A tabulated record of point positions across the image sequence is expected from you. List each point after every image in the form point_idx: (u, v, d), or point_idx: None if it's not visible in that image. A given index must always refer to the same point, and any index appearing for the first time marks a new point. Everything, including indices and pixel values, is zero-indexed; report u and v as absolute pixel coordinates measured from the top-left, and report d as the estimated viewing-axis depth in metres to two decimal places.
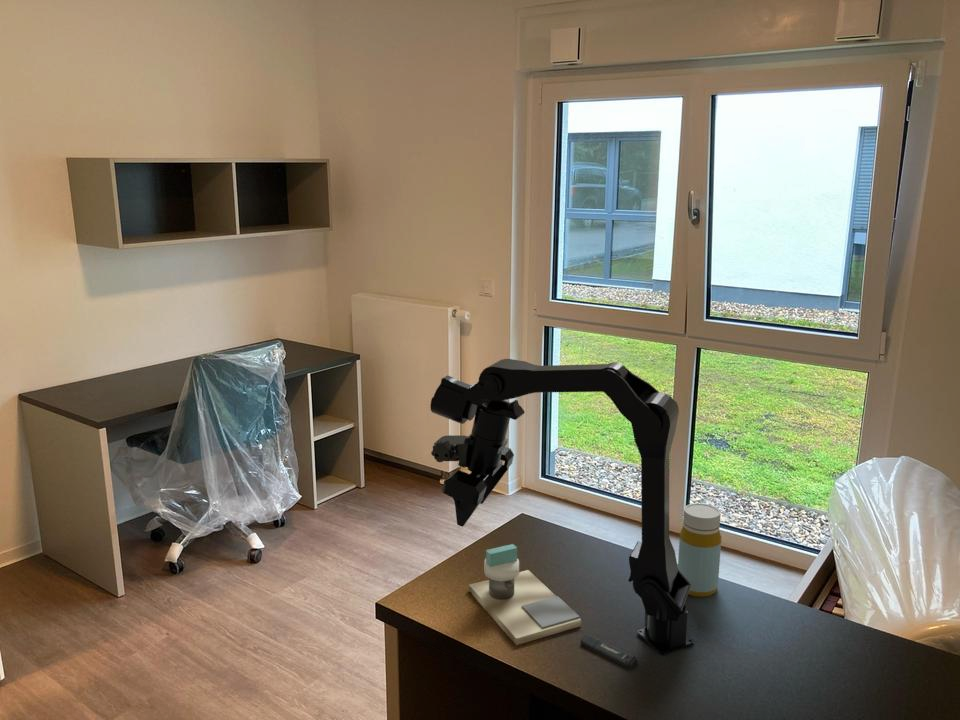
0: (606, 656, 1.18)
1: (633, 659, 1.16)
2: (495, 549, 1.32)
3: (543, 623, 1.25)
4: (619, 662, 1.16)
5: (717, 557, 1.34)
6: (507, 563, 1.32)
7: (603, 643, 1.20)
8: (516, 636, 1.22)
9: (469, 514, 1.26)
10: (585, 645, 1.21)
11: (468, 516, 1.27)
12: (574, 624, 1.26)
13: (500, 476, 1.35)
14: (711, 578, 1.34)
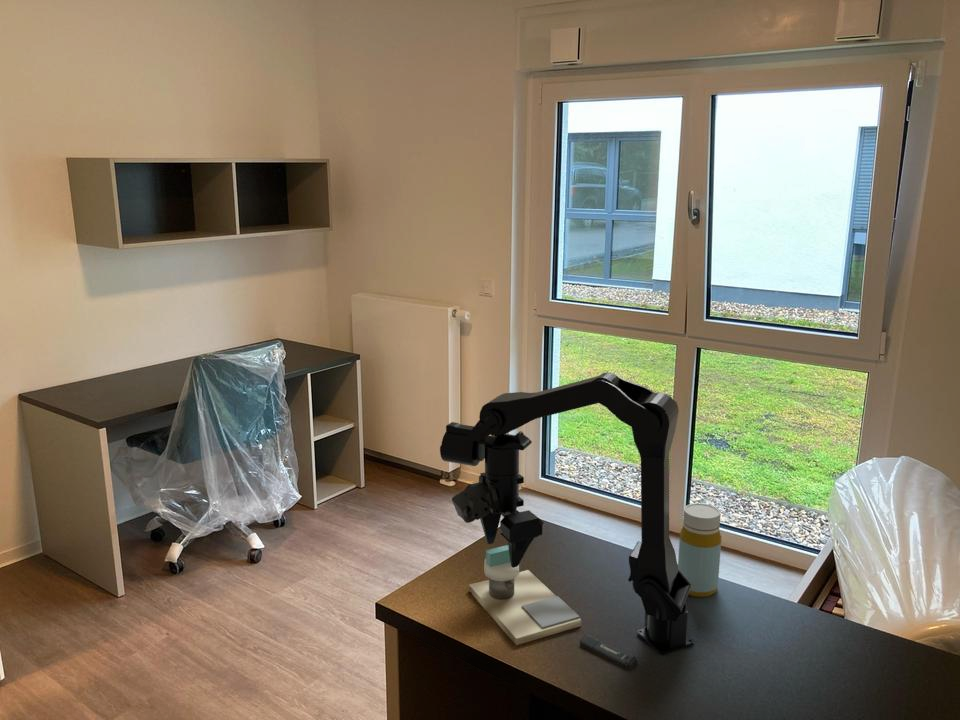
0: (606, 656, 1.18)
1: (633, 659, 1.16)
2: (495, 549, 1.32)
3: (543, 623, 1.25)
4: (619, 662, 1.16)
5: (717, 557, 1.34)
6: (507, 563, 1.32)
7: (602, 643, 1.20)
8: (516, 636, 1.22)
9: (525, 549, 1.27)
10: (584, 646, 1.21)
11: (524, 552, 1.27)
12: (574, 624, 1.26)
13: None
14: (711, 578, 1.34)
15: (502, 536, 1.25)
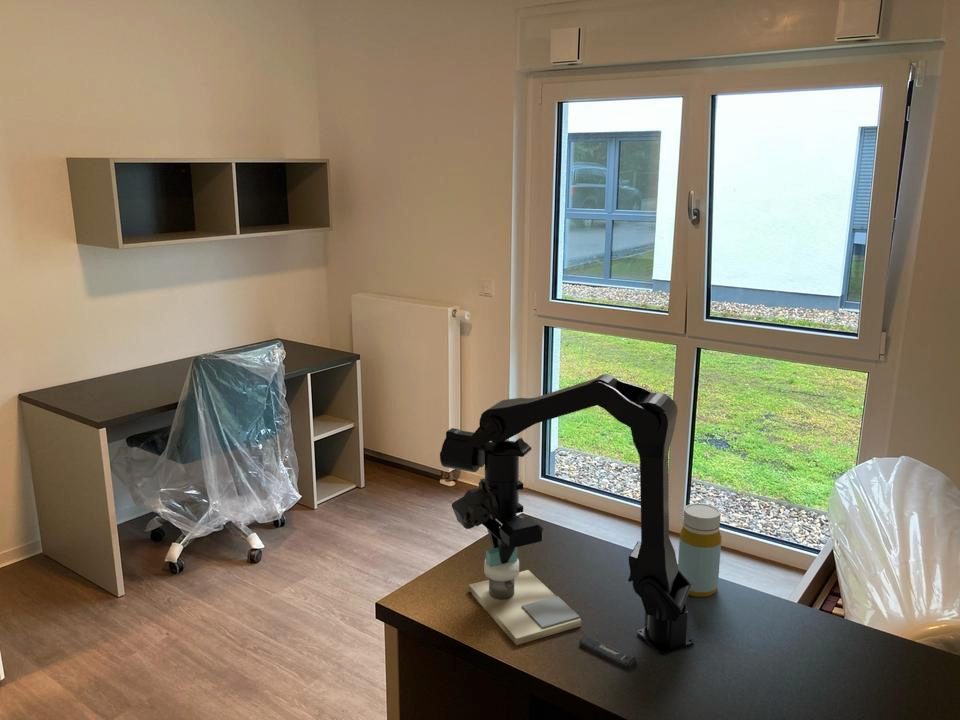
0: (605, 657, 1.18)
1: (632, 660, 1.16)
2: (495, 549, 1.32)
3: (543, 623, 1.25)
4: (618, 663, 1.16)
5: (717, 557, 1.34)
6: (507, 563, 1.32)
7: (602, 644, 1.20)
8: (516, 636, 1.22)
9: (514, 546, 1.31)
10: (584, 646, 1.20)
11: (513, 549, 1.31)
12: (574, 624, 1.26)
13: None
14: (711, 578, 1.34)
15: (492, 533, 1.28)
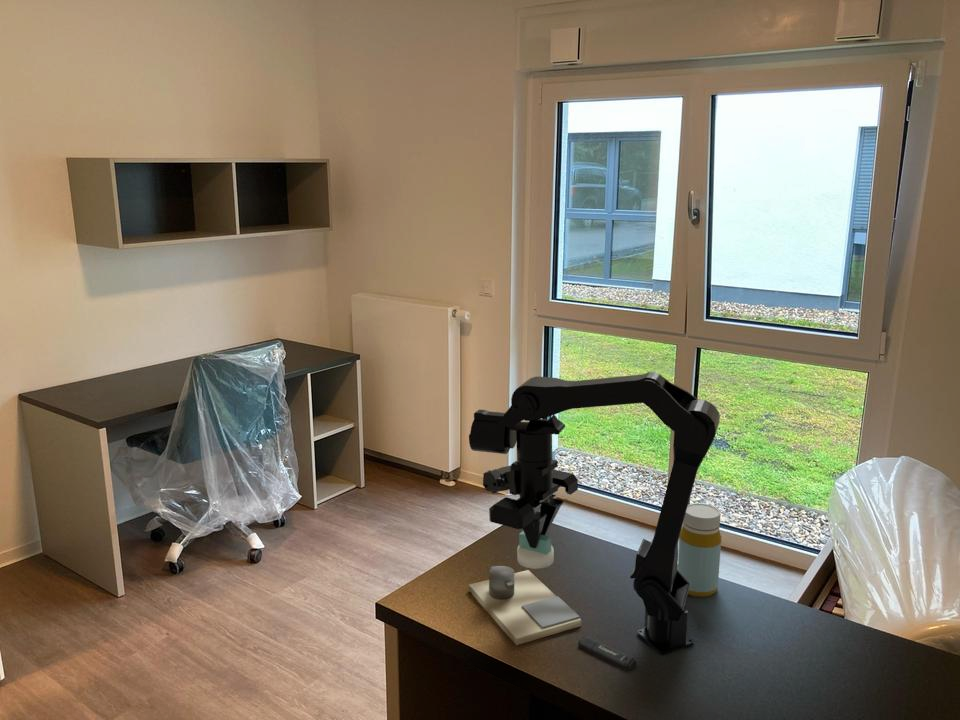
0: (604, 658, 1.18)
1: (632, 660, 1.16)
2: None
3: (543, 623, 1.25)
4: (618, 664, 1.16)
5: (717, 557, 1.34)
6: (534, 552, 1.27)
7: (601, 645, 1.20)
8: (516, 636, 1.22)
9: (536, 533, 1.24)
10: (583, 647, 1.20)
11: (536, 536, 1.25)
12: (574, 624, 1.26)
13: (553, 511, 1.26)
14: (711, 578, 1.34)
15: None
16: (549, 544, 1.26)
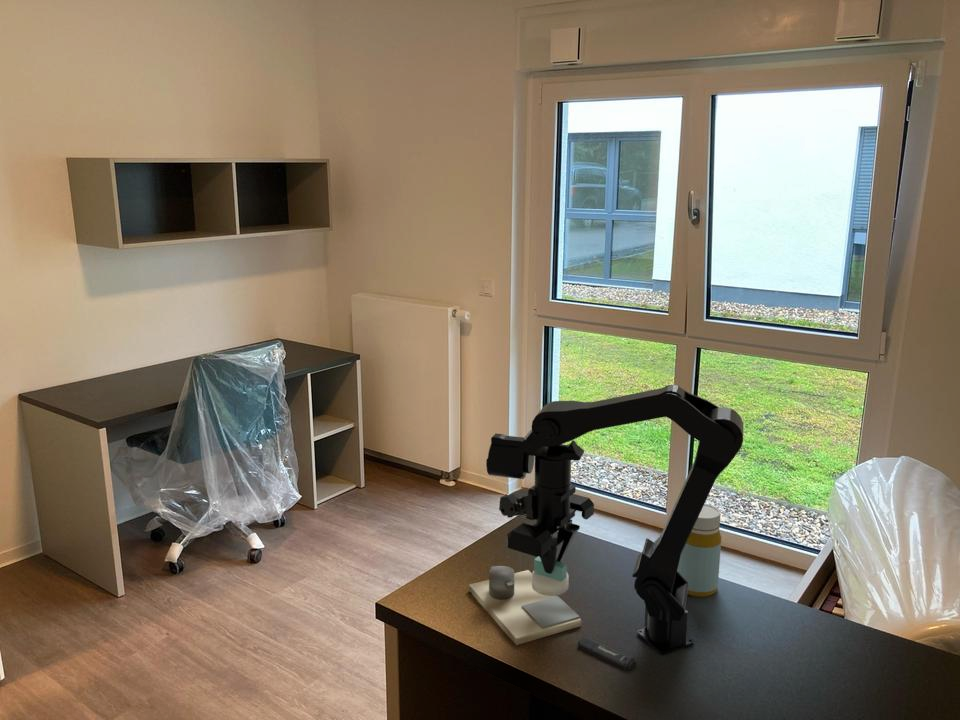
0: (604, 658, 1.18)
1: (631, 661, 1.16)
2: None
3: (543, 623, 1.25)
4: (617, 664, 1.16)
5: (717, 557, 1.34)
6: (549, 578, 1.26)
7: (600, 645, 1.20)
8: (516, 636, 1.22)
9: (553, 559, 1.23)
10: (582, 647, 1.20)
11: (552, 562, 1.23)
12: (574, 624, 1.26)
13: (569, 536, 1.25)
14: (711, 578, 1.34)
15: None
16: (564, 571, 1.25)
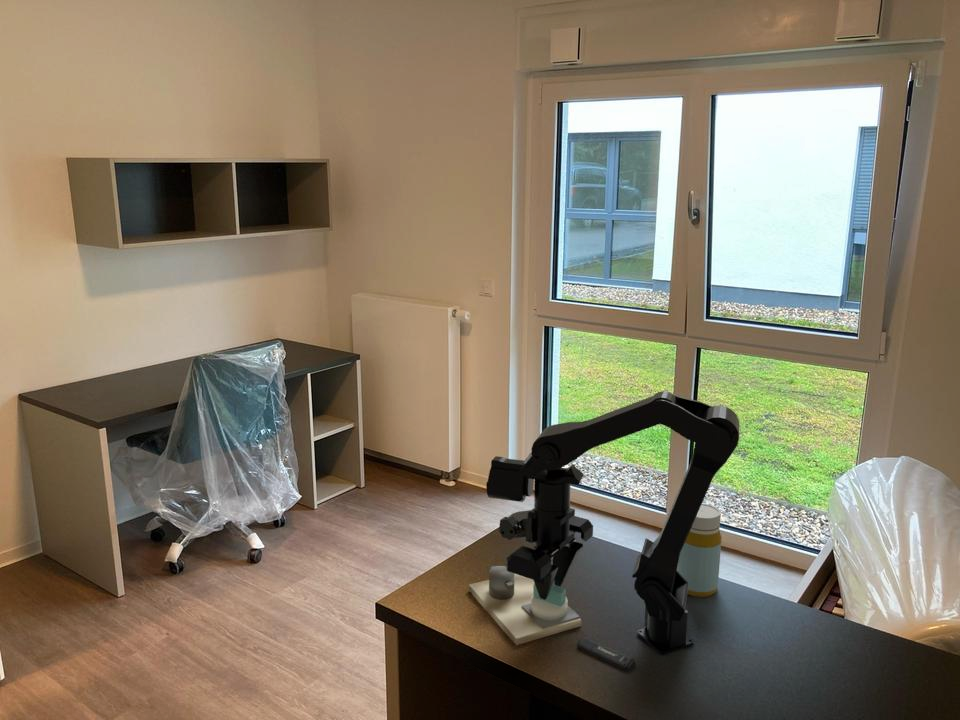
0: (604, 659, 1.17)
1: (631, 661, 1.16)
2: None
3: (543, 623, 1.25)
4: (617, 664, 1.16)
5: (717, 557, 1.34)
6: (548, 603, 1.27)
7: (600, 646, 1.19)
8: (516, 636, 1.22)
9: (547, 586, 1.23)
10: (582, 648, 1.20)
11: (547, 588, 1.23)
12: (574, 624, 1.26)
13: (573, 555, 1.27)
14: (711, 578, 1.34)
15: None
16: (563, 596, 1.26)
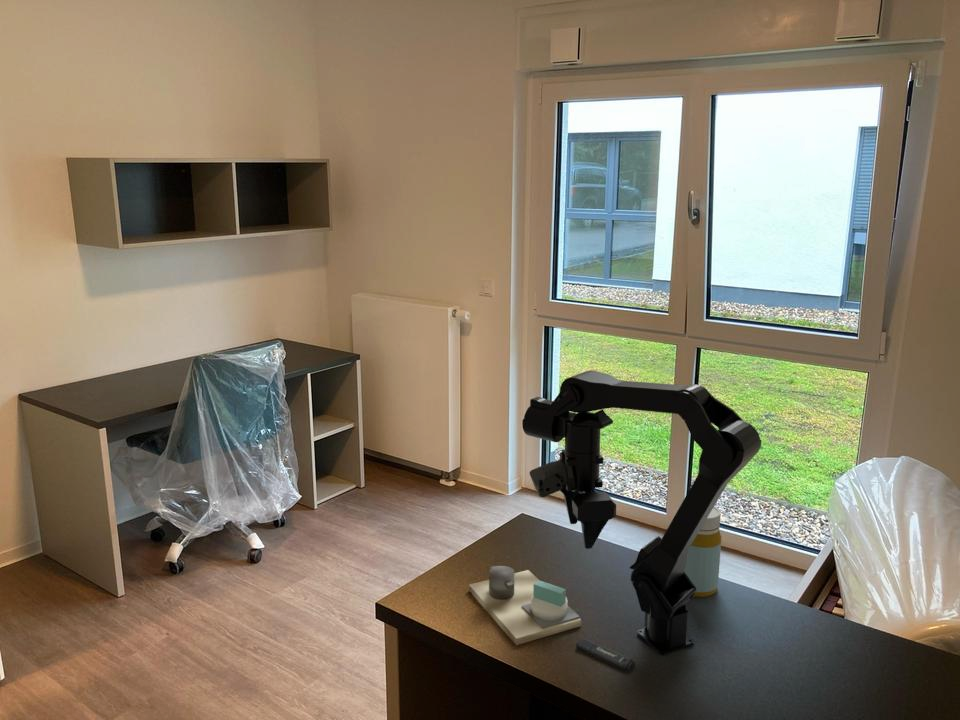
0: (603, 659, 1.17)
1: (630, 662, 1.16)
2: (545, 584, 1.28)
3: (543, 623, 1.25)
4: (616, 665, 1.16)
5: (717, 557, 1.34)
6: (548, 603, 1.27)
7: (599, 646, 1.19)
8: (516, 636, 1.22)
9: (599, 532, 1.24)
10: (581, 649, 1.20)
11: (598, 534, 1.24)
12: (574, 624, 1.26)
13: None
14: (711, 578, 1.34)
15: (573, 514, 1.22)
16: (563, 596, 1.26)
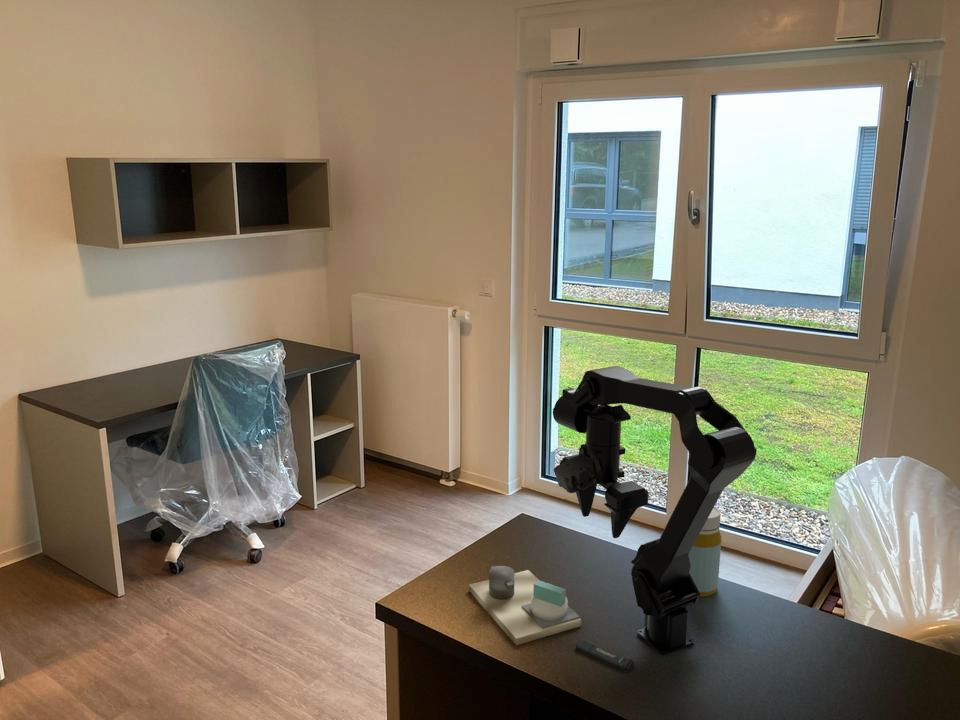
0: (602, 660, 1.17)
1: (630, 662, 1.16)
2: (545, 584, 1.28)
3: (543, 623, 1.25)
4: (616, 666, 1.16)
5: (717, 557, 1.34)
6: (548, 603, 1.27)
7: (598, 647, 1.19)
8: (516, 636, 1.22)
9: (627, 520, 1.28)
10: (580, 650, 1.20)
11: (626, 523, 1.28)
12: (574, 624, 1.26)
13: None
14: (711, 578, 1.34)
15: (606, 506, 1.25)
16: (563, 596, 1.26)
